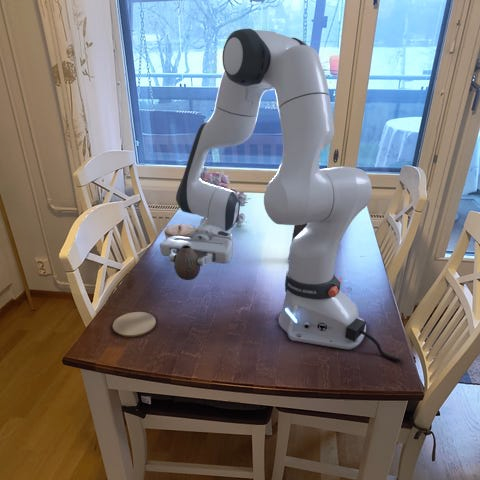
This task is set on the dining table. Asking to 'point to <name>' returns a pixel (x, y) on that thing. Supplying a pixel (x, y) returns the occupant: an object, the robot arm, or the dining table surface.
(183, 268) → the vase
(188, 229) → the trinket box
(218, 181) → the flower
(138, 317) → the cork trivet
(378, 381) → the dining table surface
